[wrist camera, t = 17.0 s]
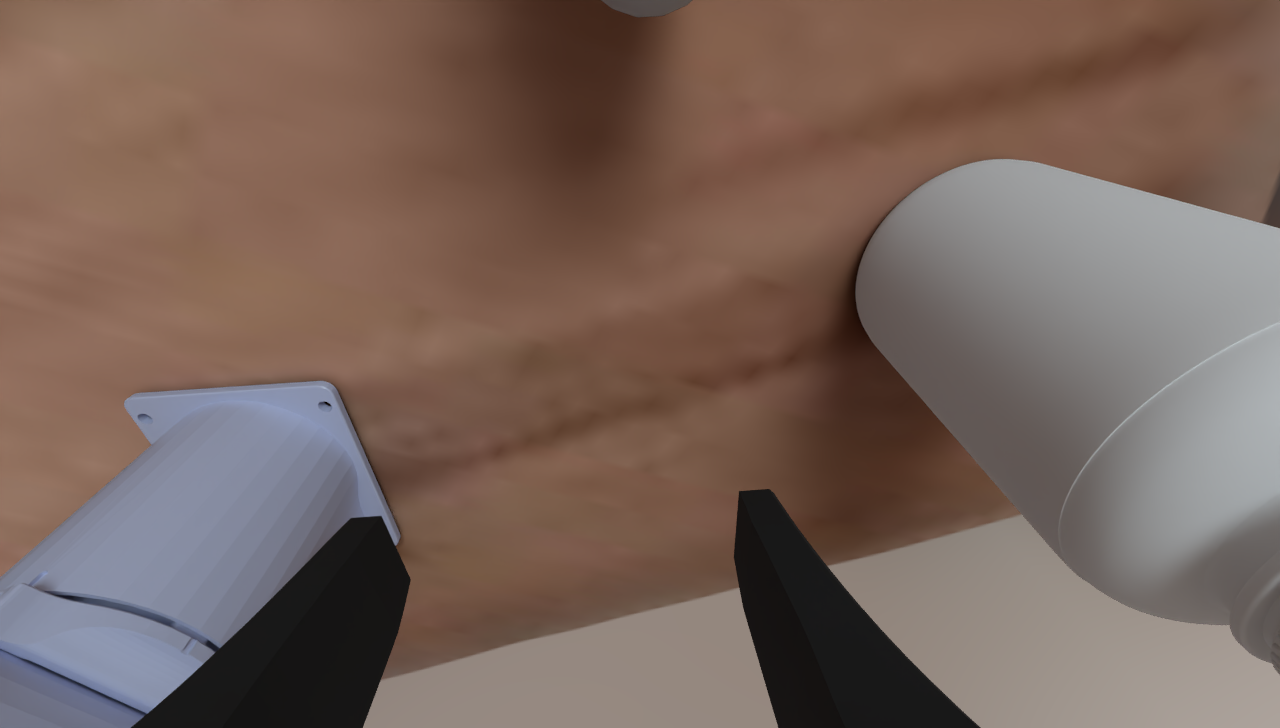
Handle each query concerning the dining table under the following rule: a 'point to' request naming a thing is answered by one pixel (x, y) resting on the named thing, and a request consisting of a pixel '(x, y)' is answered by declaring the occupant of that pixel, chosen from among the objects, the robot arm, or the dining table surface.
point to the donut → (646, 6)
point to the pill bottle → (1101, 375)
